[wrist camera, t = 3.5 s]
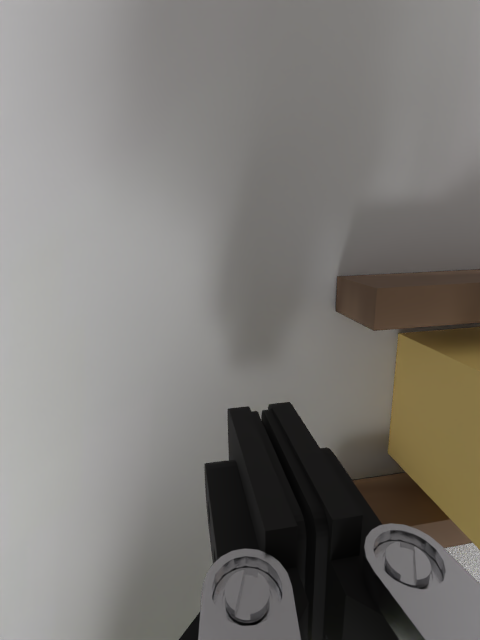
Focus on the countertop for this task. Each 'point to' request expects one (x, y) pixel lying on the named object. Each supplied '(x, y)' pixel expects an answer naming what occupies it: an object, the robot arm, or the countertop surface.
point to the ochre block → (440, 420)
